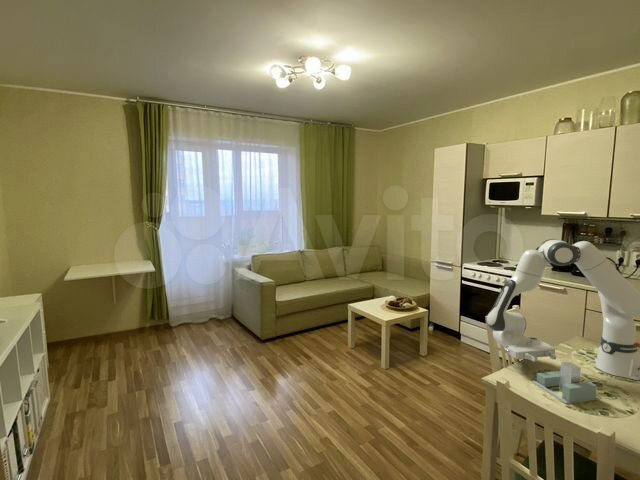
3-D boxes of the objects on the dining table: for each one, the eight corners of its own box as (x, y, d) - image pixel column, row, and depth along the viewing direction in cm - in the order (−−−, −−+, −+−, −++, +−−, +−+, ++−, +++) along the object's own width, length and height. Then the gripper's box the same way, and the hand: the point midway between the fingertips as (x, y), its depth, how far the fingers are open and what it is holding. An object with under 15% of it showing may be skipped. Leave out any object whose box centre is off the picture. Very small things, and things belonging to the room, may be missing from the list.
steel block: (567, 389, 140) (569, 361, 138) (578, 396, 135) (580, 367, 134) (559, 390, 139) (560, 362, 138) (569, 397, 134) (571, 368, 133)
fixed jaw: (563, 379, 148) (563, 365, 147) (599, 399, 132) (600, 384, 132) (532, 382, 145) (533, 369, 145) (565, 404, 130) (566, 389, 129)
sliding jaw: (560, 379, 147) (561, 370, 147) (569, 384, 143) (569, 375, 143) (536, 382, 145) (537, 373, 145) (544, 387, 141) (544, 378, 141)
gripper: (502, 341, 159) (524, 353, 145) (540, 337, 163) (565, 349, 149) (501, 354, 160) (523, 368, 146) (539, 350, 163) (564, 363, 150)
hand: (545, 358), depth 148 cm, fingers open, 8 cm apart
